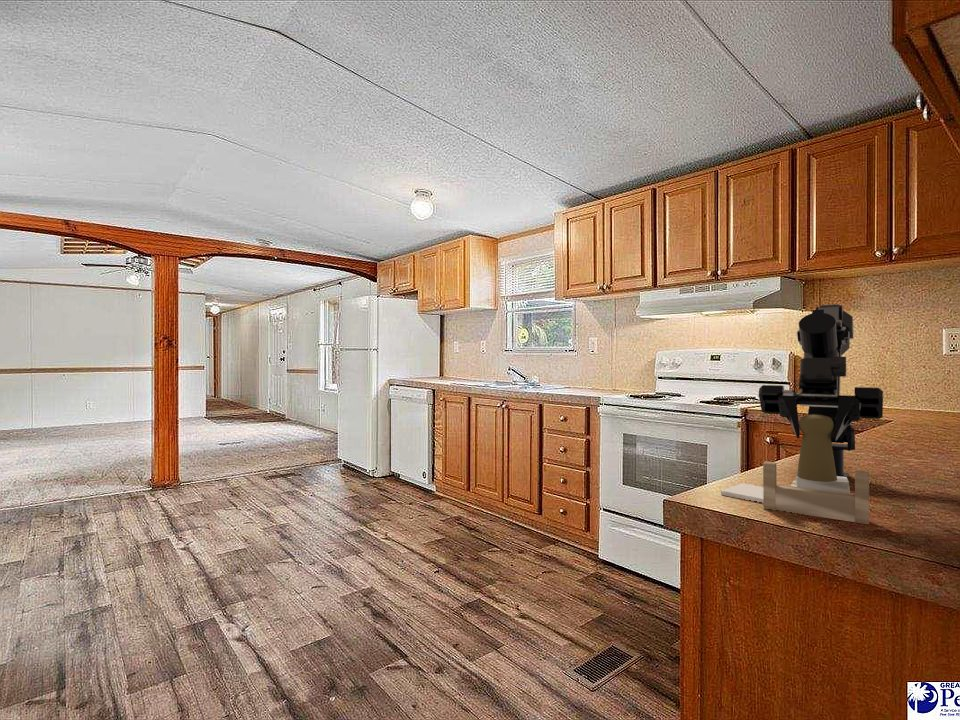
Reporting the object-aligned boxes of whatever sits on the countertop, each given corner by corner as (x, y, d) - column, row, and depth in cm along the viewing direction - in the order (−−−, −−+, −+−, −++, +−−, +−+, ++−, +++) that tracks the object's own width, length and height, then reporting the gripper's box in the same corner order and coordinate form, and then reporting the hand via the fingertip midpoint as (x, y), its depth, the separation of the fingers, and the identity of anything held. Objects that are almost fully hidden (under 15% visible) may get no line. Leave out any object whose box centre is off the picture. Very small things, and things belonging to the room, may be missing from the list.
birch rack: (765, 506, 93) (764, 461, 93) (869, 521, 84) (868, 471, 84) (763, 508, 91) (763, 463, 91) (869, 524, 82) (869, 473, 82)
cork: (800, 480, 90) (799, 416, 90) (793, 472, 96) (793, 412, 96) (841, 482, 88) (841, 417, 88) (832, 474, 94) (832, 413, 94)
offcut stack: (793, 490, 103) (793, 471, 103) (849, 497, 97) (849, 477, 97) (790, 496, 98) (790, 476, 98) (848, 504, 93) (848, 483, 93)
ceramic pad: (741, 487, 106) (741, 483, 106) (787, 495, 99) (787, 491, 99) (720, 494, 101) (720, 490, 101) (767, 504, 94) (767, 499, 94)
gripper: (759, 343, 100) (749, 406, 92) (882, 340, 89) (884, 412, 81) (766, 381, 107) (757, 443, 98) (881, 383, 96) (883, 454, 87)
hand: (815, 438), depth 91 cm, fingers closed on cork, 5 cm apart
